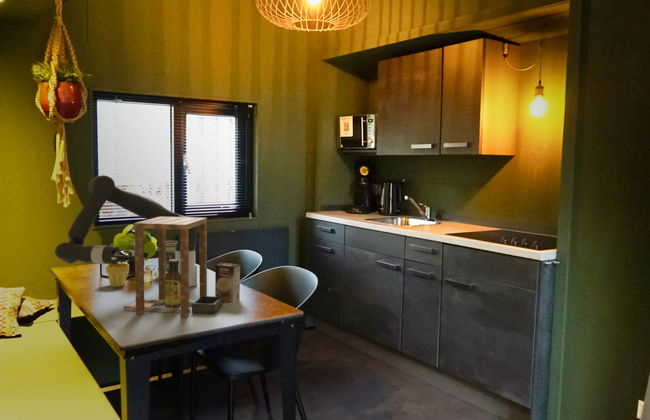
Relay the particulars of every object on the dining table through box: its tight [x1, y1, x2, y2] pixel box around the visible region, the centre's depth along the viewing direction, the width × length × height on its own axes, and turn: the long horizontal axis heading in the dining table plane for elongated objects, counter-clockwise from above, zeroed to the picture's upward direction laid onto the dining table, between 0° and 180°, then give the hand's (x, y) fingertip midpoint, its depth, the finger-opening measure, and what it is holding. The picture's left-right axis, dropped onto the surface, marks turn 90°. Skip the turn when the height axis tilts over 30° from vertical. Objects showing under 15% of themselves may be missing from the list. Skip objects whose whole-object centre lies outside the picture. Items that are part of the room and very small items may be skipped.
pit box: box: [191, 295, 224, 315], centre depth 223 cm, size 9×12×4 cm
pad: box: [128, 301, 157, 307], centre depth 226 cm, size 9×10×1 cm
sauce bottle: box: [164, 259, 181, 308], centre depth 224 cm, size 6×6×20 cm
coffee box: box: [214, 262, 241, 305], centre depth 237 cm, size 9×6×16 cm
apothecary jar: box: [166, 240, 178, 275], centre depth 284 cm, size 12×12×18 cm
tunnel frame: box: [123, 216, 208, 319], centre depth 224 cm, size 28×25×36 cm
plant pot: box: [105, 262, 130, 288], centre depth 262 cm, size 10×10×10 cm
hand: (143, 256), depth 224 cm, fingers open, 8 cm apart
